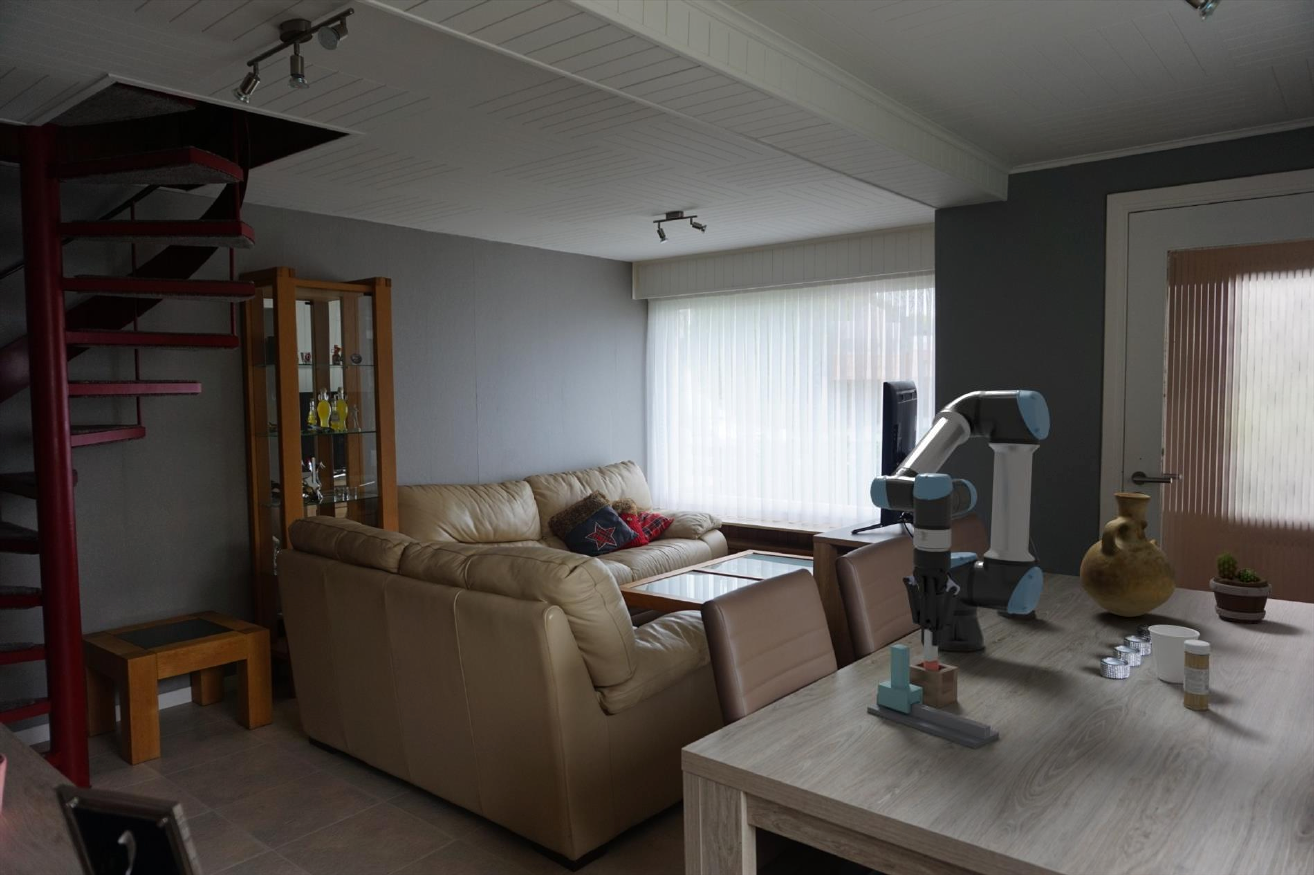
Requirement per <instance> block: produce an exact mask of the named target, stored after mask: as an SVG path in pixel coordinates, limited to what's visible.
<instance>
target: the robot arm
mask: <svg viewBox="0 0 1314 875" xmlns="http://www.w3.org/2000/svg"><path fill="white" fill-rule="evenodd" d="M1050 423H1051V422H1050V412H1049V409H1048V405H1047V403H1046V400H1045V397H1044V396H1043V395H1042V394H1041V393H1040V392H1037V391H1034V390H1023V389H1019V390H1018V389H1017V390H1013V389H1011V390H974V391H971V392H969V393H965V394H963V395H961V396H958V397H957V398H955V399H953V400H951V401H950V402H949V403H948V404H945V406H943V407H942V408H941V410H939V411H938V412H937V413H936V415H935V416H934V418H933V420H932V423H931V424H932V426H931V427H930V428H929V430H928V431H927V432H926V433H925V434H924V436H923V437H922V438H921V440H919V442H918V443H917V444H916V445H915V447H913V449H912V450H911V451H910V452H909V454H908V455H907V456H906V457H905V458H904V460H902V462H901V463H900V464H899V466H898V467H896V469H895V470H894V472H893V473H892V474H891V475H888V474H884V475H878V476H876V477H874V479H873V480H872V482H871V484H870V491H869V493H870V499H871V502H872V503H873V505H874V506H875V507H876V508H880V509H886V510H890V511H893V510H894V511H905V512H907V511H908V512H913V546H914V549H913V550H912V552H913V555H912V556H913V557H912V563H913V566H914V568H913V570H912V574H910V575H909V576H905V577H903V578H902V582H903V585H904V586H905V589H906V591H907V598H908V602H909V603H908V604H909V607H910V612H911V613H910V614H911V619H912V622H913V624H916V625H918V626H919V627H920V630H921V631H920V632H921V633H920V634H921V635H920V636H921V637H920V640H921V644H923V659H924V660H925V661H928V662H932V661H935V660H938V661H939V658H938V657H939V652H938V651H940V650H941V651H947V652H957V653H959V652H960V653H962V652H966V653H967V652H974V651H975V652H976V651H980V650H981V649H983V648H984V647H985V641H984V640H985V639H984V634H983V631H982V627H981V625H980V624H981V623H980V622H979V618H978V613H977V612H978V611H977V610H978V609H979V608H980V609H984V610H985V609H986V610H991V611H997V610H998V611H1004V612H1008V613H1010V614H1011V613H1017V614H1028V613H1030V612H1031V611H1032V610H1033V609H1034V610H1035V608H1036V607H1037V605H1038V602H1039V600H1040V597H1041V594H1042V592H1043V591H1042V590H1043V584H1044V583H1043V582H1044V576H1043V574H1044V573H1043V571H1042V569H1041V568H1040V567H1038V566H1037V567H1034V563H1035V559H1034V558H1033V556H1034V555H1032V554H1031V553H1030V552H1029V545H1030V544H1029V540H1030V537H1029V533H1030V517H1031V494H1032V473H1033V472H1032V471H1033V470H1032V467H1033V453H1035V451H1036V450H1038V448H1040V446H1041V444H1040V443H1041V440H1045V439H1046V438H1048V435H1049V432H1050V431H1049V430H1050V429H1051V428H1050V427H1051V425H1050ZM979 437H980V438H988V446H989V447H990V448H991V449H992V450H993V452H994V458H993V486H992V507H991V509H992V510H991V528H990V529H991V531H990V548H989V550H987V551H986V552H985V553H984V554H983V560H979V557H978V554H977V553H976V552H971V551H969V552H967V551H965V552H959V551H958V552H952V551H951V550H950V548H951V547H952V517H953V516H957V515H959V516H960V515H962V514H965V513H967V512H968V511H970V510H972V509H973V508H974V507H975V506H976V503H977V501H978V500H977V499H978V492H977V489H976V487H975V486H974V485H973V483H971V482H970V481H968V480H967V479H963V478H951V476H950V475H949V474H946V473H937V472H938V471H939V470H940V469H941V467H942V465H943V464H945V462H946V460H947V459H948V458H949V457H950V456H951V455H952V453H953V452H954V450H955V449H956V448H957V447H958V445H962V444H965V443H966V442H967V441H968V439H969V438H979Z"/></svg>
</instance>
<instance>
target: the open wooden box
mask: <svg viewBox="0 0 1314 875" xmlns="http://www.w3.org/2000/svg"><path fill="white" fill-rule="evenodd" d="M958 669H959V668H958V667H957V666H953V665H950V664H945V663H942V662H939V671H933V670H929V669H926V668H924V658H922V659H919V660H917V661H914V662H913V661H912V662H910V684H912V685H915V686H918V687H922V688H923V698H922V704H923V705H926V706H929V707H933V708H936V709H940V708H942V707H944V706H947V705H949V704H952V703H954V702H957V701H958V677H959V676H958V671H959V670H958Z"/></svg>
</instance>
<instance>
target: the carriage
mask: <svg viewBox="0 0 1314 875" xmlns="http://www.w3.org/2000/svg"><path fill="white" fill-rule="evenodd" d="M910 650H911V647H910V646H908V645H904V644H901V643H898V644H895V645H891V646H890V679H888V680H886V681H883V682H880V683H877V693H878V704H881V705H884V706H887V707H890V708H893V709H896V710H899V711H902V712H905V713H910V704H912V703H915V702H917V703H920V704H923V703H922V698H923V688H922V687H918V686H915V685H912V684H910V663H911V662H910V660H911V657H910V656H911V651H910Z"/></svg>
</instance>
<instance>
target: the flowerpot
mask: <svg viewBox="0 0 1314 875" xmlns="http://www.w3.org/2000/svg"><path fill="white" fill-rule="evenodd" d="M1238 558H1239V556H1237V555H1234V552H1233V553H1232V550H1229V551H1228V550H1227V548H1226V547H1225V548H1224V550H1223V551H1221V552H1220V554H1217V557H1216V558H1215V559H1213V560H1215V563H1214V566H1216V568H1217V569H1216V573H1215V575H1214V577H1213V578H1211V579H1210V580H1209V587H1210V590H1212V591H1213V596H1214V599H1215V602H1216V604H1214V611H1215V613H1216V614H1217V615H1218V617H1219V619H1222V620H1224V621H1226V622H1227V621H1228V622H1232V623H1236V624H1237V623H1238V624H1259V623H1261V622H1262V620H1264V618H1265V617H1266V614H1267V611H1266V609H1265V608H1266V605H1267V601H1268V596H1270V595H1271V594H1272V593H1273V585H1272V584H1270V583H1268V580H1267V579H1265V578H1264V577H1262V576H1261V575H1257V573H1258V572H1256V569H1255V570H1254V569H1253V566H1252V567H1250V566H1249V565H1247V564H1245V565H1246V566H1244V567H1243V566H1241V568H1239V563H1240V561H1239V559H1238Z"/></svg>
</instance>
